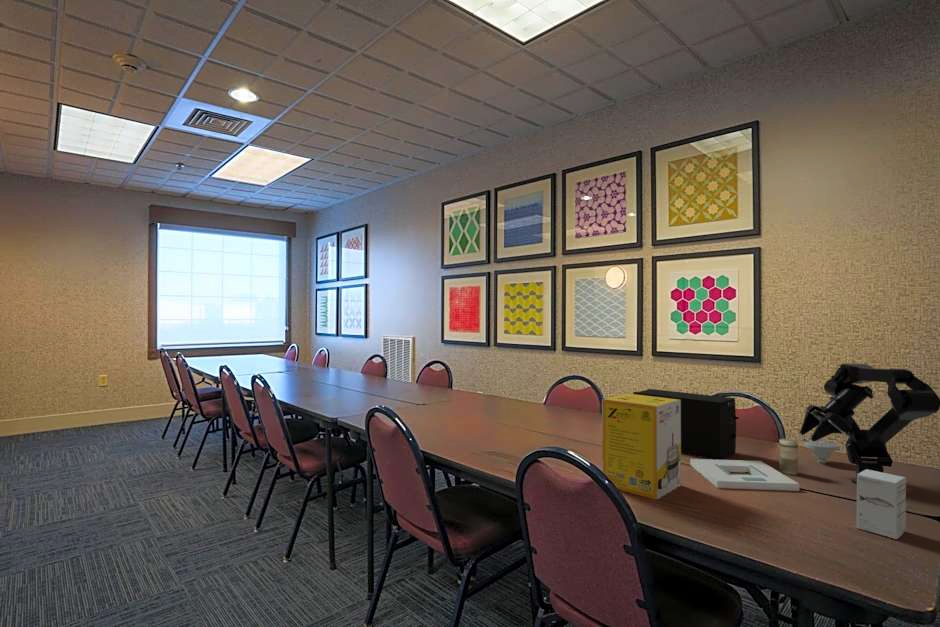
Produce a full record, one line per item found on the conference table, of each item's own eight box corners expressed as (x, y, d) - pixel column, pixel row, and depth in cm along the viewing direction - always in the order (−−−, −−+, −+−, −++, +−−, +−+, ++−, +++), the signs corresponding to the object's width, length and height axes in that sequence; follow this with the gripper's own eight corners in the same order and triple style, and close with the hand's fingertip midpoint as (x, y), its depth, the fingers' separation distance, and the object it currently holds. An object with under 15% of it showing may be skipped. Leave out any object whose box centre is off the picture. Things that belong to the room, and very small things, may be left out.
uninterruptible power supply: (651, 437, 197) (651, 388, 197) (741, 453, 173) (740, 398, 173) (631, 444, 186) (631, 392, 186) (725, 462, 161) (724, 403, 162)
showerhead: (803, 435, 169) (838, 440, 163) (803, 456, 169) (839, 461, 163) (801, 441, 161) (839, 445, 155) (802, 462, 161) (839, 468, 155)
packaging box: (628, 472, 151) (628, 393, 151) (681, 485, 139) (680, 399, 139) (602, 485, 139) (601, 399, 140) (656, 500, 128) (656, 406, 128)
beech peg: (801, 475, 148) (801, 443, 148) (784, 474, 149) (784, 442, 149) (792, 470, 153) (792, 439, 153) (776, 469, 154) (775, 438, 154)
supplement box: (855, 528, 110) (855, 473, 110) (866, 521, 114) (866, 468, 115) (897, 540, 104) (896, 482, 104) (907, 532, 108) (906, 476, 109)
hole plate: (799, 490, 135) (799, 483, 135) (717, 487, 137) (717, 480, 137) (760, 467, 156) (760, 460, 157) (690, 464, 159) (690, 458, 159)
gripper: (885, 426, 136) (842, 464, 139) (854, 415, 154) (817, 448, 157) (850, 398, 139) (809, 436, 142) (824, 390, 157) (787, 424, 160)
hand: (806, 437), depth 150 cm, fingers open, 9 cm apart
